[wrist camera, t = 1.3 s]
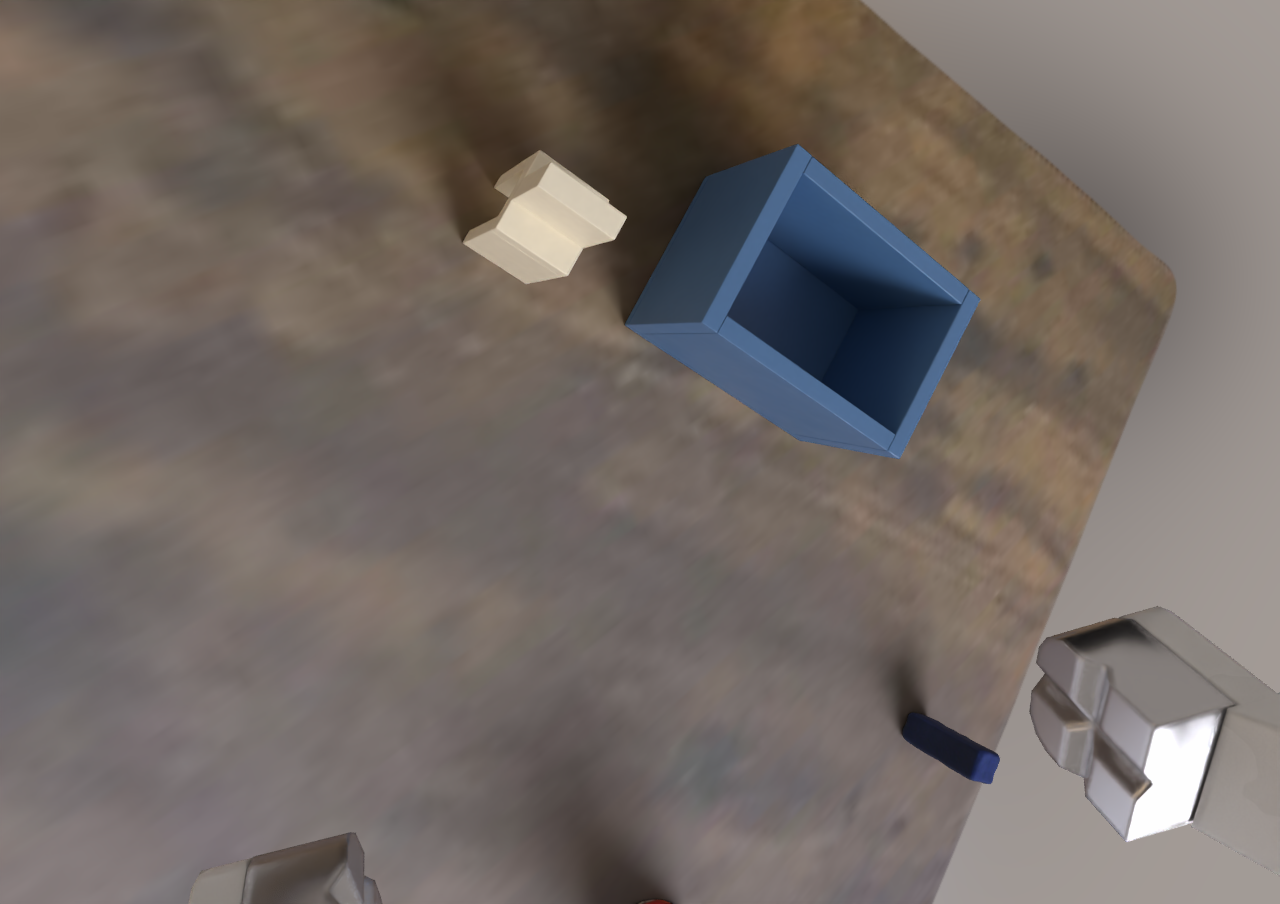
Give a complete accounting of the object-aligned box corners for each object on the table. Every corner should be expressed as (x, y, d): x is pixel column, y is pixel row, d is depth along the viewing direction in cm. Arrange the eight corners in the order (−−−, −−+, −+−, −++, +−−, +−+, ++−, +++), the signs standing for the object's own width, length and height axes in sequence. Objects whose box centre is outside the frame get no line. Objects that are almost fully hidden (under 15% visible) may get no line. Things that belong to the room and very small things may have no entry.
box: (623, 325, 50) (701, 322, 42) (705, 176, 51) (797, 143, 43) (799, 440, 56) (899, 459, 47) (869, 304, 57) (981, 298, 48)
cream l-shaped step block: (461, 242, 46) (519, 216, 36) (500, 174, 47) (568, 130, 37) (526, 284, 48) (597, 270, 38) (563, 218, 48) (644, 187, 38)
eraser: (898, 737, 62) (970, 782, 56) (909, 708, 62) (982, 749, 56) (919, 744, 63) (992, 789, 57) (930, 715, 63) (1005, 756, 57)
